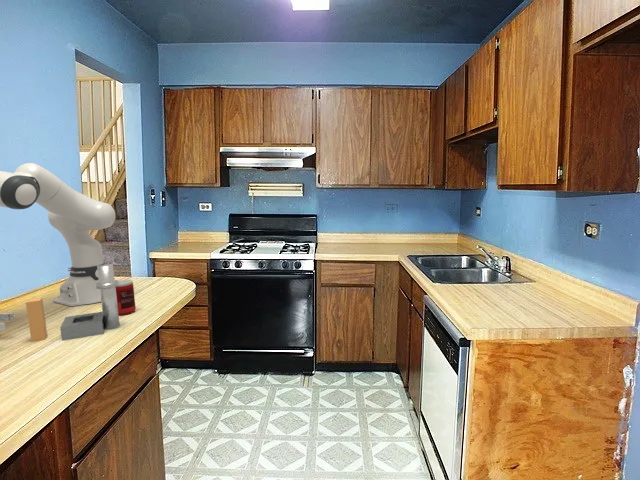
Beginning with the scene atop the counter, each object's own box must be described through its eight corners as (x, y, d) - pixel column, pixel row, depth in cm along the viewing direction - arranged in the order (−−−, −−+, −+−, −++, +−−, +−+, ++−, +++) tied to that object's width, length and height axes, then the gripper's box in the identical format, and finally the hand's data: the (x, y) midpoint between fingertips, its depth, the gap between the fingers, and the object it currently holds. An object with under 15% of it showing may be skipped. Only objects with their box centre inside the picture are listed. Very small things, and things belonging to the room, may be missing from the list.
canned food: (116, 310, 153) (113, 280, 151) (139, 308, 153) (136, 279, 152) (107, 316, 145) (104, 285, 144) (131, 315, 146) (128, 284, 144)
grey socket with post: (61, 340, 124) (53, 274, 121) (67, 329, 134) (58, 267, 131) (122, 330, 131) (115, 267, 128) (123, 320, 141) (116, 261, 138)
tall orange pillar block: (31, 341, 124) (25, 302, 122) (33, 337, 127) (28, 299, 126) (45, 339, 126) (39, 300, 124) (47, 335, 129) (42, 297, 127)
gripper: (-69, 330, 108) (-3, 320, 113) (-39, 308, 126) (16, 301, 132) (-64, 353, 109) (1, 343, 114) (-36, 328, 127) (19, 320, 133)
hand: (9, 320), depth 123 cm, fingers open, 8 cm apart
